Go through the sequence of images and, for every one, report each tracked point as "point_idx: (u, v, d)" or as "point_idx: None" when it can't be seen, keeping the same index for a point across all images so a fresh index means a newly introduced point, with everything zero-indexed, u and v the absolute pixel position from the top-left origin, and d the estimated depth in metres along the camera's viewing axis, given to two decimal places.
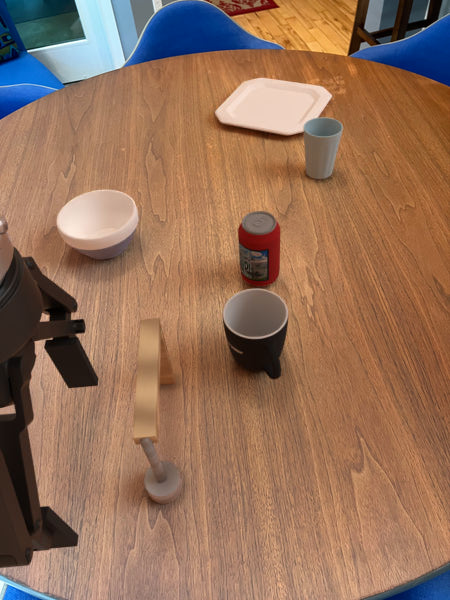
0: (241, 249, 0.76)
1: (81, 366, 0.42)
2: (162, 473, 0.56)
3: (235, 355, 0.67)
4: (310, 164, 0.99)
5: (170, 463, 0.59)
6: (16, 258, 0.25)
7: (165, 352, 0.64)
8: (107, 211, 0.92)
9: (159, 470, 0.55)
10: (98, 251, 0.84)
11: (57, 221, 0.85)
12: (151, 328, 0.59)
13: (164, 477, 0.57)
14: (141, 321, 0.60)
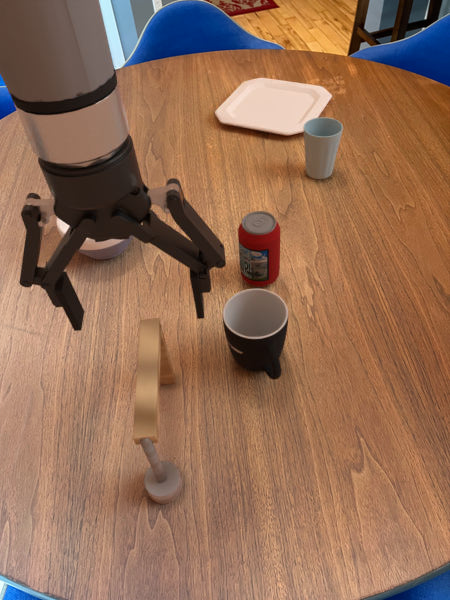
0: (241, 249, 0.76)
1: (74, 295, 0.51)
2: (162, 473, 0.56)
3: (235, 355, 0.67)
4: (310, 164, 0.99)
5: (170, 463, 0.59)
6: None
7: (165, 352, 0.64)
8: None
9: (159, 470, 0.55)
10: (98, 251, 0.84)
11: (57, 221, 0.85)
12: (151, 328, 0.59)
13: (164, 477, 0.57)
14: (141, 321, 0.60)
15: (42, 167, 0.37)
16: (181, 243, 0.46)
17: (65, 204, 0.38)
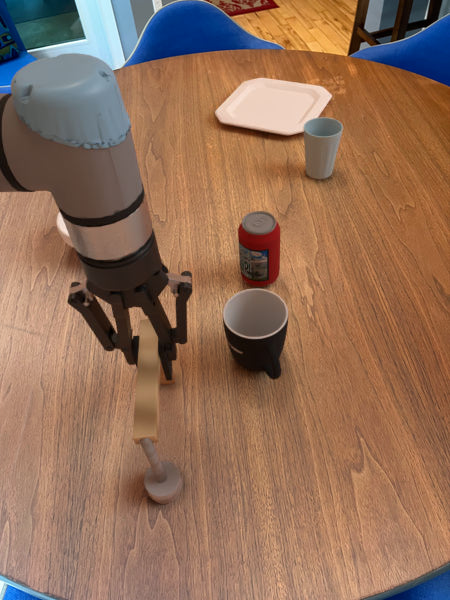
0: (241, 249, 0.76)
1: None
2: (162, 473, 0.56)
3: (235, 355, 0.67)
4: (310, 164, 0.99)
5: (170, 463, 0.59)
6: None
7: None
8: None
9: (159, 470, 0.55)
10: None
11: (57, 221, 0.85)
12: (151, 328, 0.59)
13: (164, 477, 0.57)
14: (141, 321, 0.60)
15: (80, 258, 0.44)
16: (165, 322, 0.55)
17: (98, 286, 0.45)
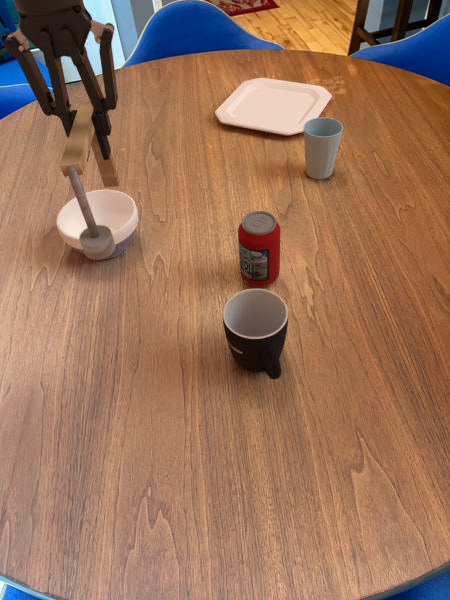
0: (241, 249, 0.76)
1: None
2: (93, 223, 0.64)
3: (235, 355, 0.67)
4: (310, 164, 0.99)
5: (104, 226, 0.67)
6: None
7: None
8: (107, 211, 0.92)
9: (89, 217, 0.63)
10: None
11: (57, 221, 0.85)
12: (88, 106, 0.67)
13: (96, 231, 0.65)
14: (80, 102, 0.68)
15: None
16: (95, 83, 0.62)
17: (25, 11, 0.53)
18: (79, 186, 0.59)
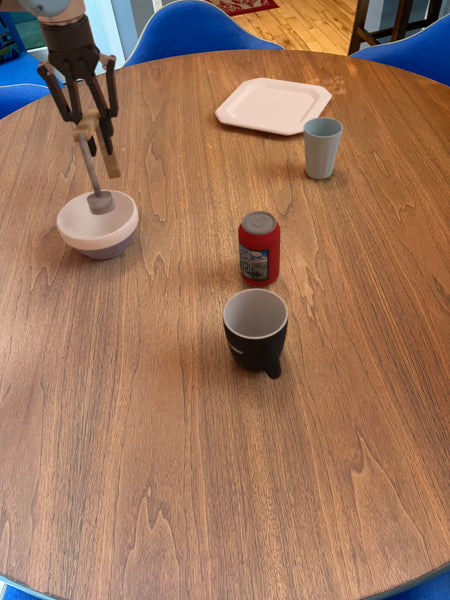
0: (241, 249, 0.76)
1: None
2: (97, 183, 0.82)
3: (235, 355, 0.67)
4: (310, 164, 0.99)
5: (106, 191, 0.85)
6: None
7: None
8: None
9: (94, 178, 0.81)
10: (98, 251, 0.84)
11: (57, 221, 0.85)
12: (96, 108, 0.89)
13: (99, 191, 0.83)
14: None
15: (42, 27, 0.73)
16: (102, 98, 0.84)
17: (53, 49, 0.75)
18: (86, 149, 0.79)
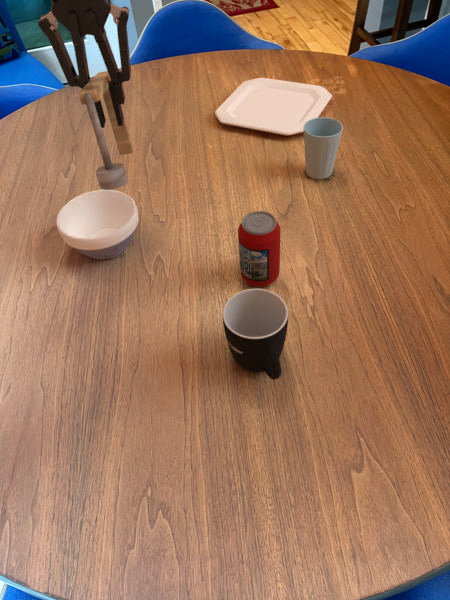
0: (241, 249, 0.76)
1: (100, 102, 0.80)
2: (107, 153, 0.72)
3: (235, 355, 0.67)
4: (310, 164, 0.99)
5: (117, 163, 0.75)
6: None
7: None
8: (107, 211, 0.92)
9: (104, 146, 0.71)
10: (98, 251, 0.84)
11: (57, 221, 0.85)
12: (104, 72, 0.79)
13: (110, 162, 0.73)
14: None
15: None
16: (112, 58, 0.74)
17: None
18: (94, 113, 0.69)
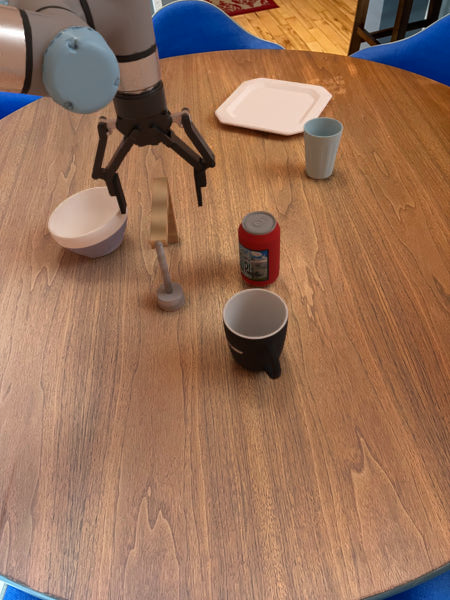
0: (241, 249, 0.76)
1: (122, 190, 0.81)
2: (169, 282, 0.77)
3: (235, 355, 0.67)
4: (310, 164, 0.99)
5: (175, 283, 0.80)
6: None
7: (171, 209, 0.85)
8: (100, 208, 0.92)
9: (167, 278, 0.76)
10: (88, 248, 0.83)
11: (48, 223, 0.85)
12: (161, 182, 0.80)
13: (171, 288, 0.78)
14: (154, 179, 0.81)
15: None
16: (188, 151, 0.75)
17: (125, 117, 0.67)
18: (163, 256, 0.72)
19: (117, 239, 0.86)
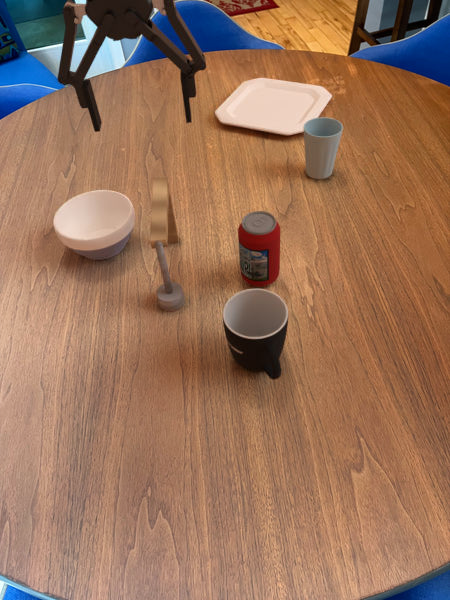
0: (241, 249, 0.76)
1: (95, 102, 0.70)
2: (169, 282, 0.77)
3: (235, 355, 0.67)
4: (310, 164, 0.99)
5: (175, 283, 0.80)
6: None
7: (171, 209, 0.85)
8: (104, 211, 0.92)
9: (167, 278, 0.76)
10: (94, 252, 0.84)
11: (54, 221, 0.85)
12: (161, 182, 0.80)
13: (171, 288, 0.78)
14: (154, 179, 0.81)
15: None
16: (174, 48, 0.64)
17: None
18: (163, 256, 0.72)
19: (122, 245, 0.87)
